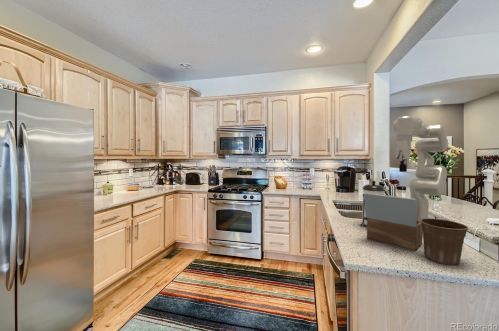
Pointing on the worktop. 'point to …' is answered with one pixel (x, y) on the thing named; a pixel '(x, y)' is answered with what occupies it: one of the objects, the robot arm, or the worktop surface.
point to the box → (395, 234)
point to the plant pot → (443, 240)
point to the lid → (391, 209)
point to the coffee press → (371, 190)
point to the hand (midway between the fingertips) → (402, 171)
